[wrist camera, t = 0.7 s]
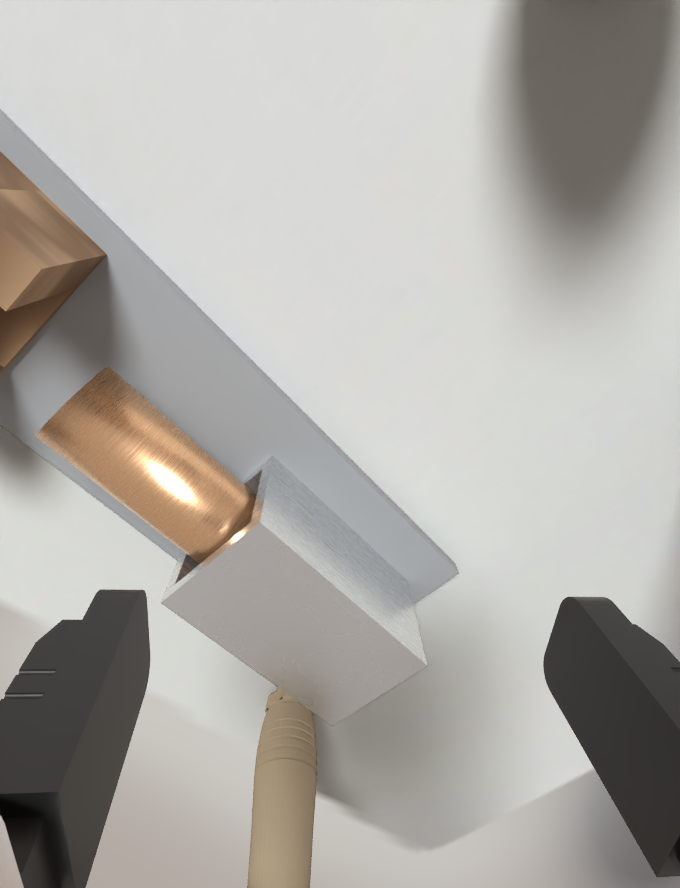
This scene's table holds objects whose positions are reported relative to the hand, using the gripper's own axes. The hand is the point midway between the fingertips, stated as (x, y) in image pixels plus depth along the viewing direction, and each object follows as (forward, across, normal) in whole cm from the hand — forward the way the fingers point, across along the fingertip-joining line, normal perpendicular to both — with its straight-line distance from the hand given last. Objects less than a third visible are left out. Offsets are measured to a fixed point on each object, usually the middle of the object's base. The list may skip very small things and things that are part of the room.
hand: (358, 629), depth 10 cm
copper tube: (+18, +4, +7) cm, 19 cm away
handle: (+20, 0, +25) cm, 32 cm away
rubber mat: (+20, +6, +5) cm, 21 cm away
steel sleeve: (+19, 0, +11) cm, 22 cm away
